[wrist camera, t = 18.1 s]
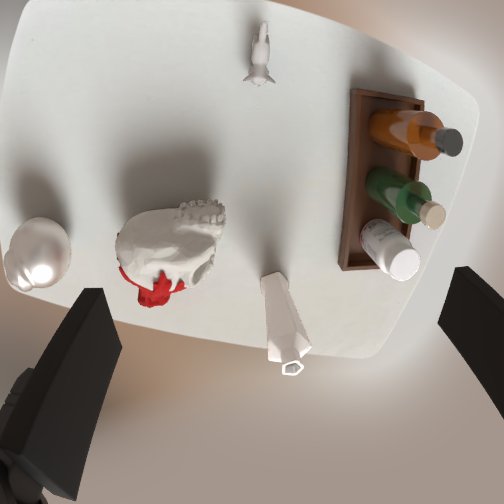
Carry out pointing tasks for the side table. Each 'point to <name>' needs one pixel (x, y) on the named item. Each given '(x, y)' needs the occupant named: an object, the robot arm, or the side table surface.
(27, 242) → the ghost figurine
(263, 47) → the white animal figurine
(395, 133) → the amber bottle
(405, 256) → the pill bottle
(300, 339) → the white faceted vase
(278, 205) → the side table surface
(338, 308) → the side table surface
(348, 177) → the tray
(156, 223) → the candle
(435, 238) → the side table surface
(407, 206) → the green bottle
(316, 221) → the side table surface
